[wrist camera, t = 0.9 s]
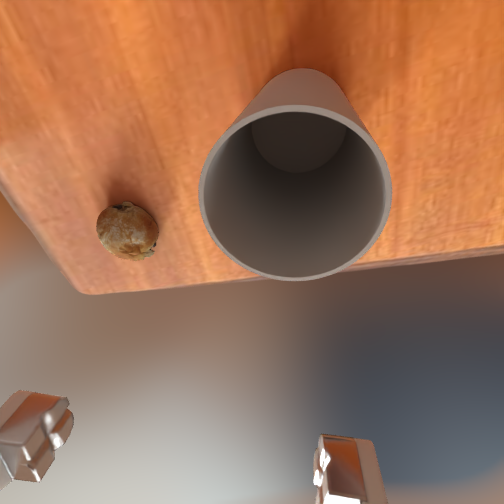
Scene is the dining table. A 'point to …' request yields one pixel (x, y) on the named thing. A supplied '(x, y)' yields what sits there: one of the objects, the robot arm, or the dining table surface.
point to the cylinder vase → (296, 182)
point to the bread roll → (127, 231)
